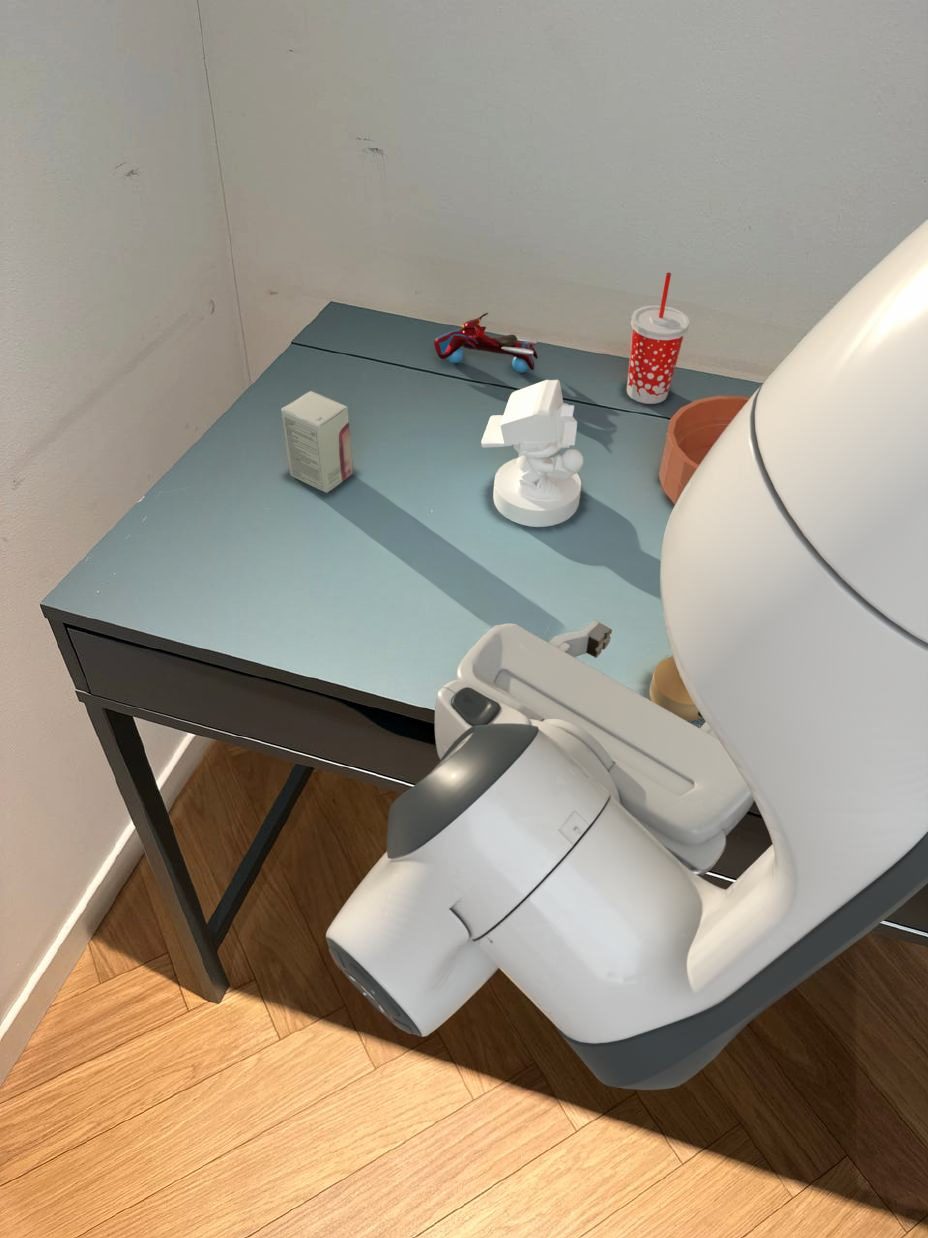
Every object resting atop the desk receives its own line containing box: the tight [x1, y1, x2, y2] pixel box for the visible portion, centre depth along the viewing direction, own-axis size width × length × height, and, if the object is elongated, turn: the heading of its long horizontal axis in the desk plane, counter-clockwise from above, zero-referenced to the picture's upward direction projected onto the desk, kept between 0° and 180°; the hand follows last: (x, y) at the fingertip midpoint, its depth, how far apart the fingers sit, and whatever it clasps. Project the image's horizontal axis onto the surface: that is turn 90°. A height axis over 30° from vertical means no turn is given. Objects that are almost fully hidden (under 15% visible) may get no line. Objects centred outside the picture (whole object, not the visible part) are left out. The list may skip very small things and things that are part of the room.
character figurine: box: [480, 379, 584, 528], centre depth 90 cm, size 9×10×12 cm
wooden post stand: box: [649, 655, 703, 722], centre depth 70 cm, size 5×5×18 cm
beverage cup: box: [626, 272, 690, 405], centre depth 103 cm, size 6×6×14 cm
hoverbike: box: [433, 312, 539, 374], centre depth 109 cm, size 5×12×6 cm, turn 77°
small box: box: [280, 390, 354, 494], centre depth 93 cm, size 5×4×8 cm
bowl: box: [658, 395, 752, 505], centre depth 94 cm, size 15×15×6 cm
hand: (660, 662), depth 66 cm, fingers open, 8 cm apart
